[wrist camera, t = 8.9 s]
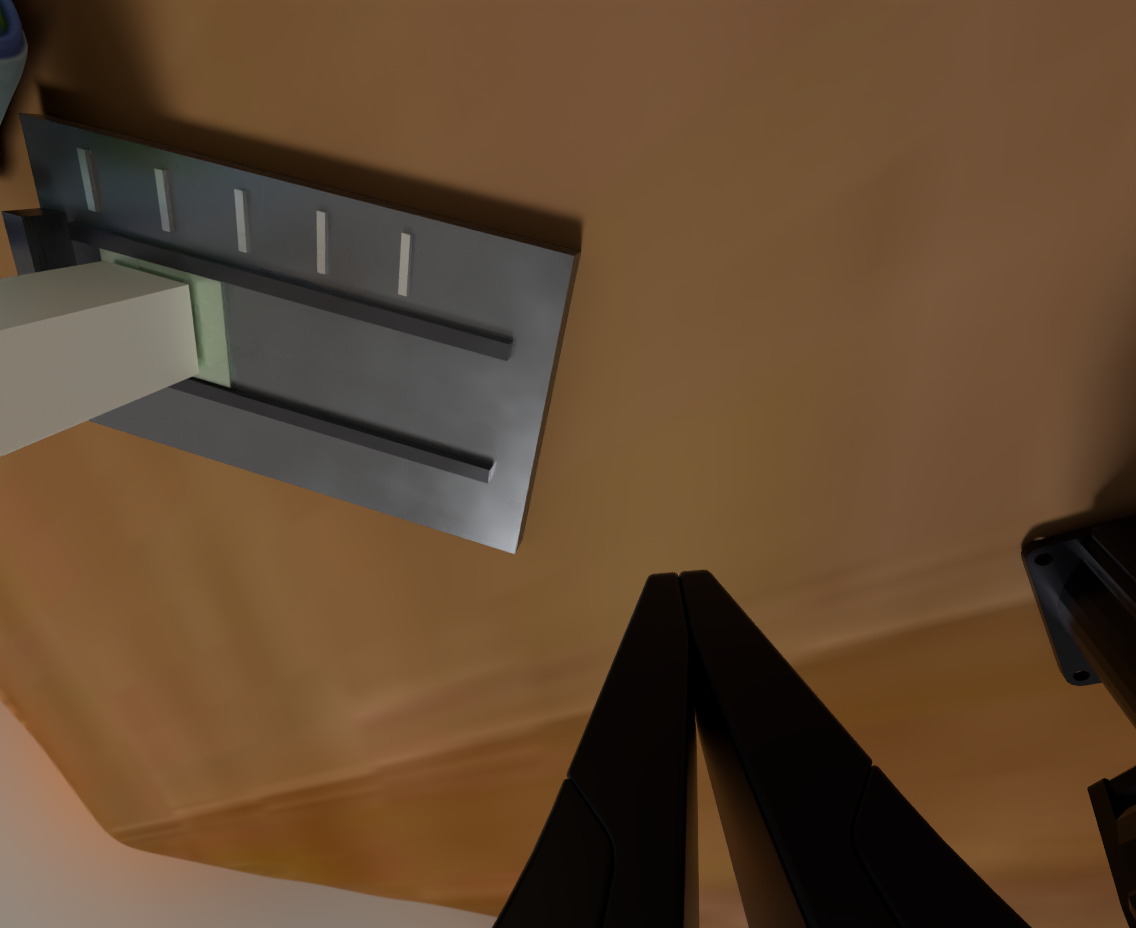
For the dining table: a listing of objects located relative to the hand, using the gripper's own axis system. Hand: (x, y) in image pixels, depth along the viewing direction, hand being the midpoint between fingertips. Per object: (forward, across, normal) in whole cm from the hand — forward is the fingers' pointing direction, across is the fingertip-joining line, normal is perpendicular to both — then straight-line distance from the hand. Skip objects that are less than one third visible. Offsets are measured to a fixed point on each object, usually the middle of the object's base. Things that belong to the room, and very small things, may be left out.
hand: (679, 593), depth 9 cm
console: (+15, +12, +1) cm, 20 cm away
